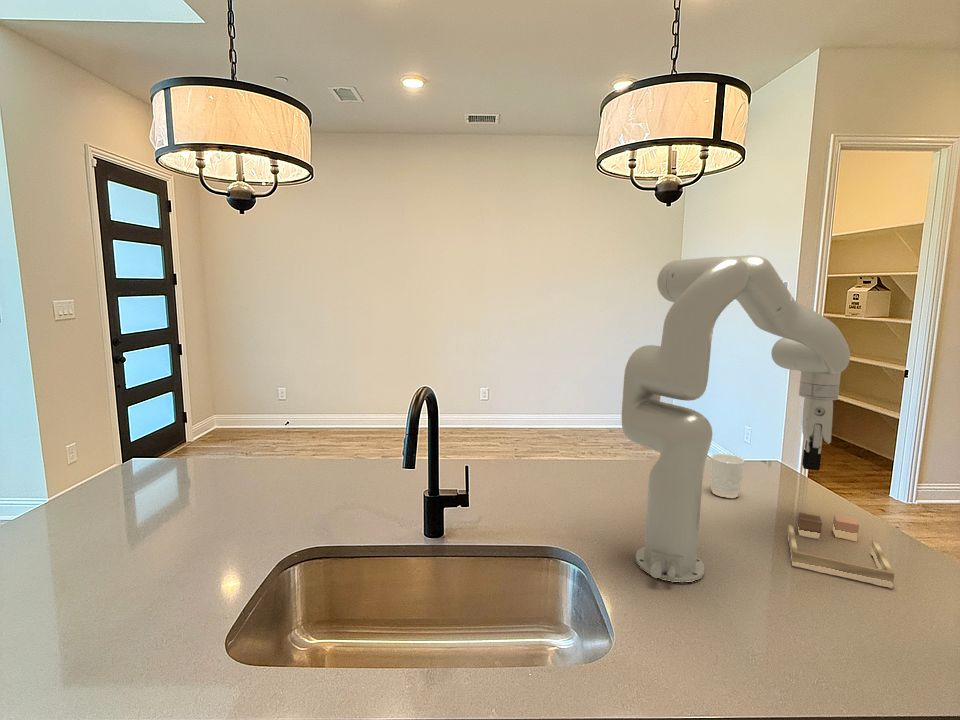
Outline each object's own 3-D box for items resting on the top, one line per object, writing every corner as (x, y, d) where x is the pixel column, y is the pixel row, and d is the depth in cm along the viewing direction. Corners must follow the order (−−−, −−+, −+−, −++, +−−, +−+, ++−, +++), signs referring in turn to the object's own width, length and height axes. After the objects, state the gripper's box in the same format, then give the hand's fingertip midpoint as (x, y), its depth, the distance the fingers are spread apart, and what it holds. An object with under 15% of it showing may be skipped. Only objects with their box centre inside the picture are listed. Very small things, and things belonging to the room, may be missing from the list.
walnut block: (820, 540, 109) (821, 523, 109) (798, 536, 111) (800, 519, 111) (817, 533, 113) (819, 516, 112) (797, 529, 115) (798, 512, 114)
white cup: (733, 502, 129) (736, 465, 127) (703, 493, 135) (705, 457, 133) (746, 495, 134) (749, 459, 132) (716, 486, 140) (719, 451, 138)
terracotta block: (856, 542, 109) (858, 525, 108) (834, 538, 111) (836, 520, 110) (853, 534, 112) (855, 518, 112) (832, 530, 114) (833, 514, 114)
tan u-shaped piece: (892, 589, 91) (894, 573, 91) (791, 566, 98) (793, 552, 98) (875, 555, 103) (877, 541, 103) (787, 536, 111) (788, 524, 110)
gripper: (844, 398, 106) (835, 481, 108) (833, 387, 120) (825, 461, 122) (802, 394, 110) (794, 475, 112) (796, 384, 123) (789, 456, 125)
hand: (810, 467), depth 117 cm, fingers closed
